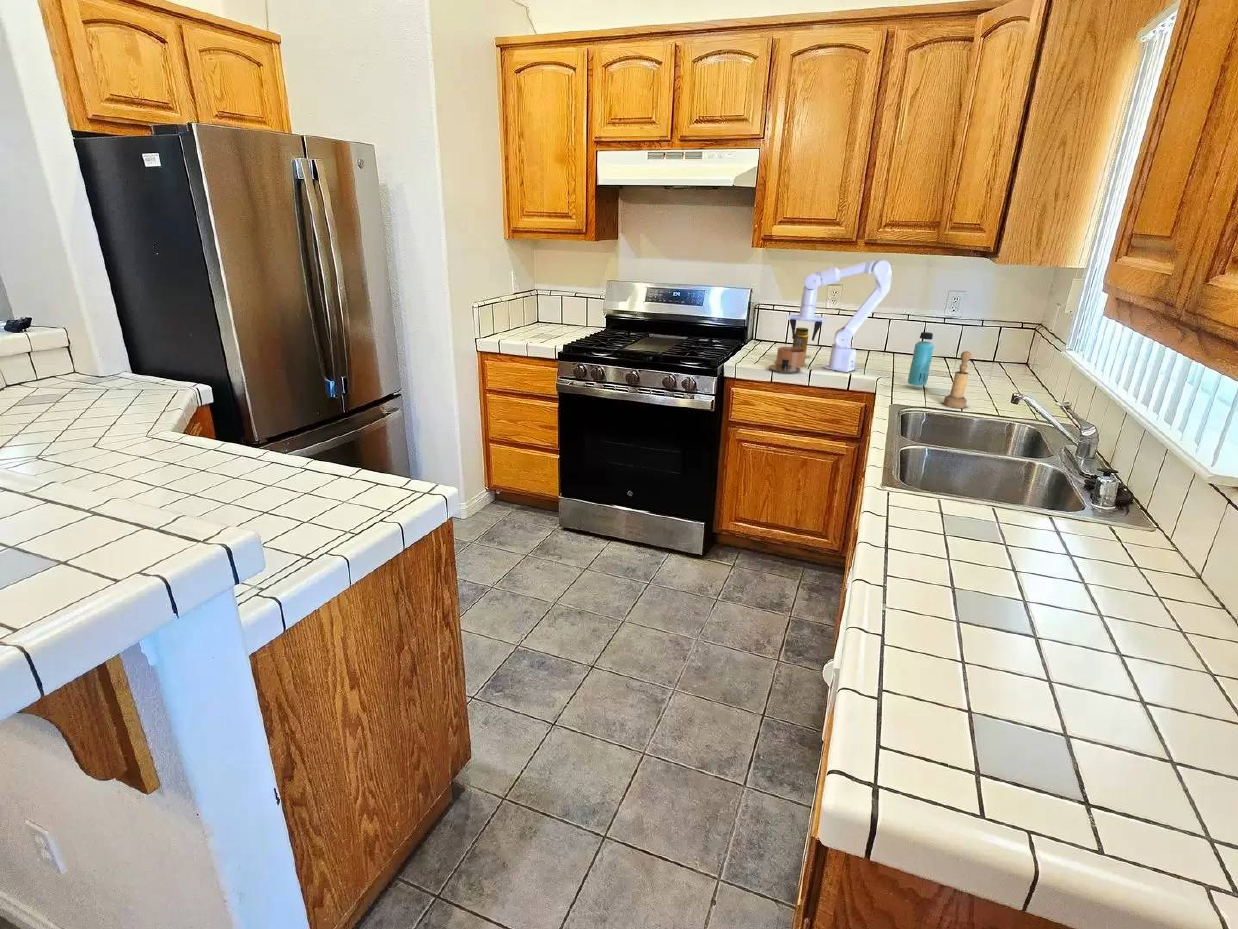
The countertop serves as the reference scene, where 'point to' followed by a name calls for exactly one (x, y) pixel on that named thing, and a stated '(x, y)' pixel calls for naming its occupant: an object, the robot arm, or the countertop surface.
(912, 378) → the beverage bottle
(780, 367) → the pot lid
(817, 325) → the robot arm
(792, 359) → the terracotta bowl
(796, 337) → the condiment
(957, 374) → the mortar and pestle
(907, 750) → the countertop surface
